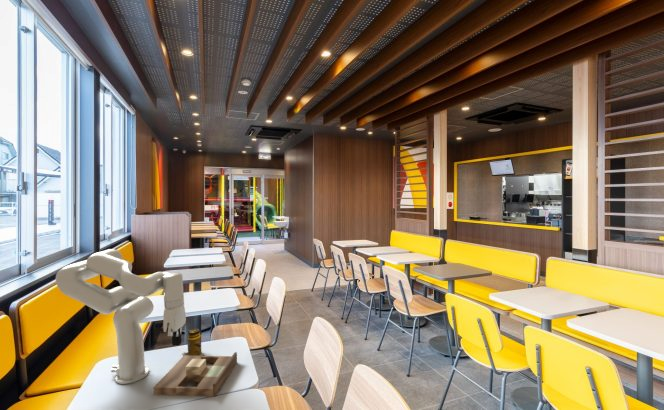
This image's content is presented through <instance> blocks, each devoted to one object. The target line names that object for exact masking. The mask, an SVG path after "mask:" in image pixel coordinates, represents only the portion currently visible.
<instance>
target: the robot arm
mask: <svg viewBox="0 0 664 410" xmlns="http://www.w3.org/2000/svg"><path fill="white" fill-rule="evenodd" d="M132 269H133V264H132V262H130V261H128V260H125V259H123V254H122V253H121V252H120V251H119V250H117V249H113V248H108V249H105V250H102V251H98V252H95V253H92V254H91V255H90V256H88V257H87V258H86V259H84V260H81V261H78V262H74V263H72V264H68V265H66V266H64V267H62V268H61V269H59V270H58V271H57V272H56V274H55V284H56V286H57V288H58V290H59V291H60V292H61V293H62V294H63V295H65V296H67V297H69V298H71V299H74V300H76V301H78V302H80V303H82V304H84V305H85V306H87V307H89V308H90V309H93V311H94V310H95V311H96V312H98V313H99V314H102V315H106V316H107V315H110V314H112V313H114V314H113V318H112V321H113V322H112V323H113V325H114V328H115V335H116V343H117V344H116V345H117V361H118V364H113V365H112V368H111V370H110V372H111V373H116V375H115V376H114V381H115V383H117V384H119V385H128V384H129V385H130V384H132V383H135V382H139V381H140V380H142V379H144V378H145V377H146V376H147V375H148V374H149V372H150V368H149V366H147V365H146V364H145V362H146V361H145V347H144V345H145V344H144V332H143V330H142V327H141V325H140V322H141V321H143V320H144V319H146V318H147V317H149V316H150V315H151V314H152V313H153V311H154V307H155V306H154V303H153V301H152V300H151V299H150V298H149V296H151V295H153V294H155V293H157V292H159V291H161V290H163V302H164V309H163V320H162V321H163V332H164V333H167V337H171V342H172V346H180V345H182V342H183V341H182V329H183V327H184V325H185V324H186V321H187V317H186V309H185V297H184V296H185V294H184V280H183V274H182V273H181V272H166V271H157V272H154V273H151V274H149V275H146V276H145V277H143V276H140V275H137V274H135V273H132ZM99 275H101V276H104V277H107V278H109V279H112V280H114V281H115V280H116V281H118V283H119V286H116V287H112V288H111V289H106V288H104V287H102V286H100V285H98V284H97V283H93V282H88V281H87V280H89V279H93V278H95V277H97V276H99Z"/></svg>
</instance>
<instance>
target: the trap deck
mask: <svg viewBox="0 0 664 410" xmlns="http://www.w3.org/2000/svg"><path fill="white" fill-rule="evenodd" d="M192 359H206V368H205V369H204V370H203V372H202V373H201V374H200V375H186V366H187V364H188V363H189V362H190V361H191V360H192ZM237 364H238V352H237V351H235V352H234V353H233V354H232V355H231V356H230V355H229V356H228V355H227V356H226V355H224V356H223V355H203V356H192V355H184V356H183V355H182V357H181V358H180V359H179V360H178V362H176V364H174V365H173V366H172V367H171V368H170V369H169V371H168V372H167V373H166V374H165V375H164V376H163V377H162V378H161V379H160V380H159V381H158V382H157V383H156V384H155V385H154V386H153V395H154V396H157V395H158V396H181V397H182V396H185V397H186V396H187V397H189V396H190V397H193V396H194V397H217V395H218V394H219V392H220V391H221V389H222V388H223V386H224V385H225V383H226V381H227V380H228V379H229V376H231V373H232V371H233V370H234V369H235V367H236V365H237Z"/></svg>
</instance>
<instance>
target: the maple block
mask: <svg viewBox="0 0 664 410" xmlns="http://www.w3.org/2000/svg"><path fill="white" fill-rule="evenodd" d="M205 368H206V359H192V360H191V361H190V362H189V363H188V364H187V366H186V375H200V374H201V373H202V372H203V370H204V369H205Z"/></svg>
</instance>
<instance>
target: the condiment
mask: <svg viewBox="0 0 664 410" xmlns="http://www.w3.org/2000/svg"><path fill="white" fill-rule="evenodd" d="M181 355H182V357H183V356H184V355H192V356H204V353H203V351H202V335H201V330H200V329H199V328H191V329H189V330H188V331H187V351H186V352H184V353H181Z"/></svg>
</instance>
